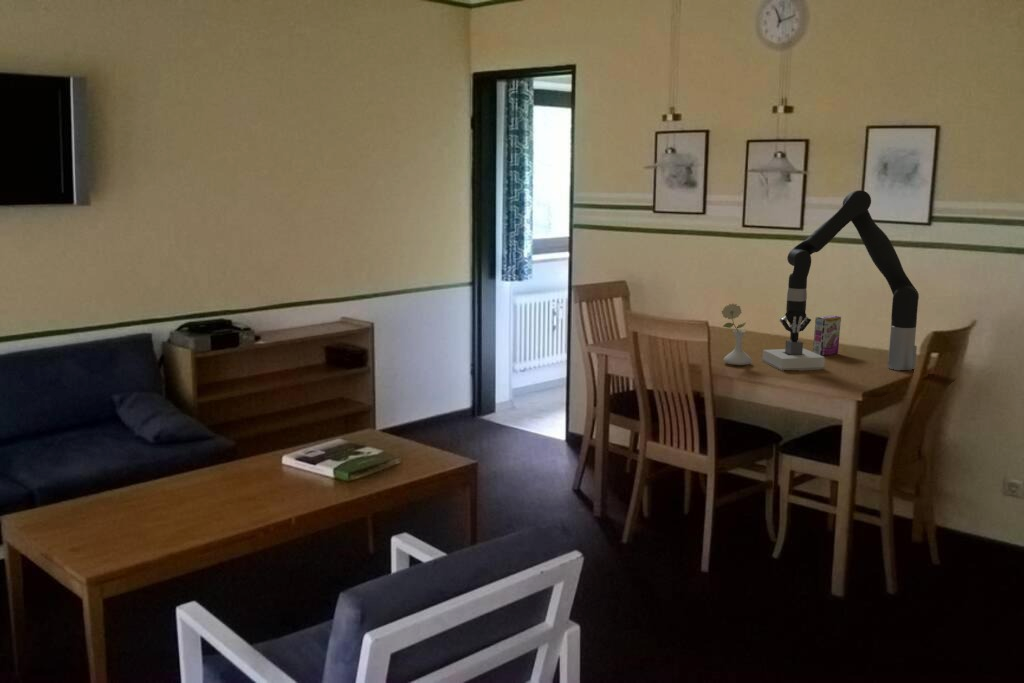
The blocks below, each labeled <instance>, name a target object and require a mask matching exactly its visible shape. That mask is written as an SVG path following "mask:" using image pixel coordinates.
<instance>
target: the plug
mask: <svg viewBox="0 0 1024 683" xmlns="http://www.w3.org/2000/svg"><path fill="white" fill-rule="evenodd" d="M784 349H785V354H787V355H802V351H803V349H804V342H803V341H801V340H799V339H798V340H797V342H793V341H791V340H786V339H785V348H784Z"/></svg>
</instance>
